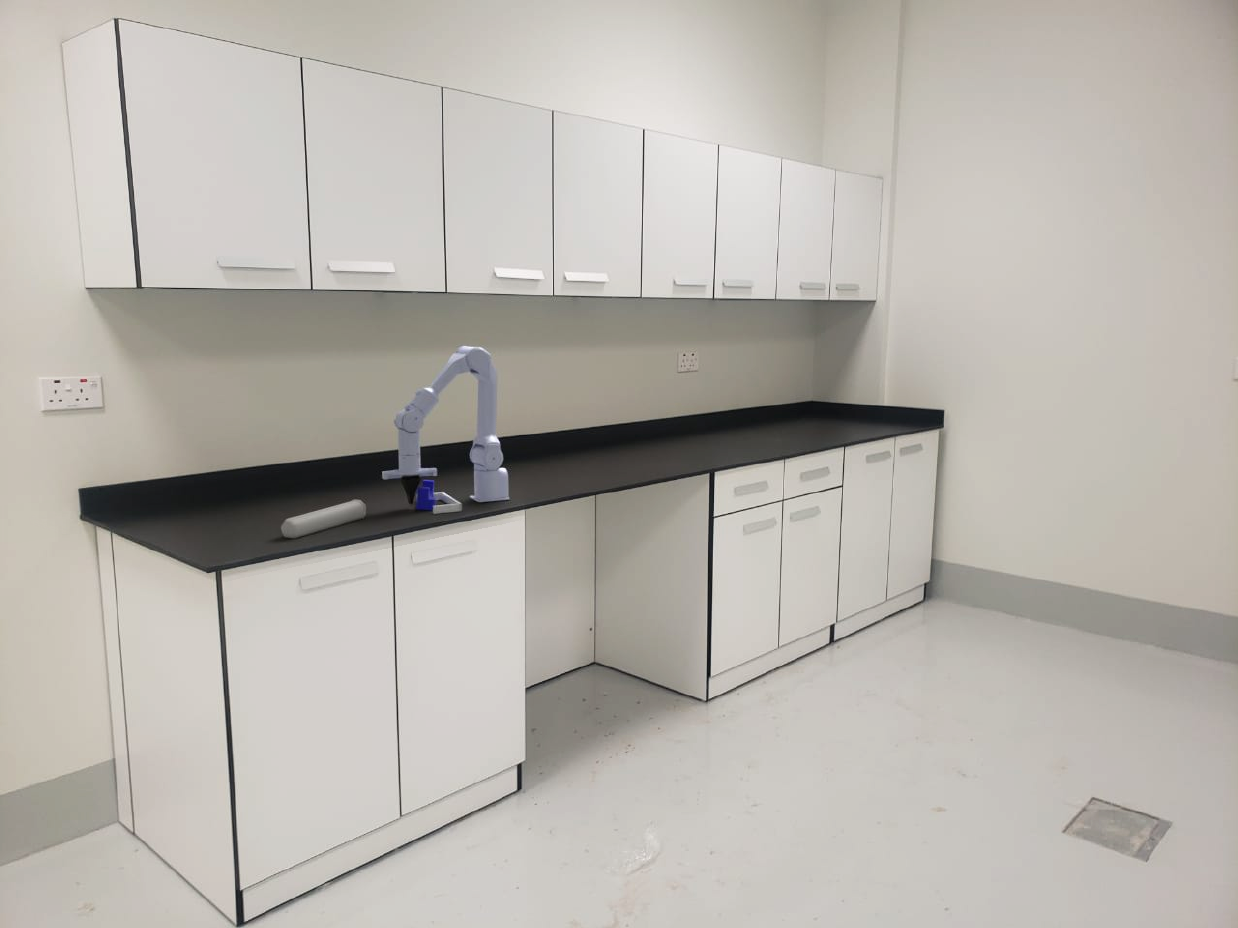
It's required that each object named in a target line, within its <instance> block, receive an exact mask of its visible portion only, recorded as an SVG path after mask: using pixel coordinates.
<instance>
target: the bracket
mask: <svg viewBox="0 0 1238 928" xmlns="http://www.w3.org/2000/svg"><path fill="white" fill-rule="evenodd" d="M433 498H435V501H443V502H444V503H446V504H440V505H437V504H436V506H433V510H432V514H434V515H435V514H446V513H456V512H462V511H463V503H461V502H460V501H459V500H456V499H455V498H454V497H452V496H451V495H448V494H447V493H445V492H444V491H442V492H441V491H440V492H434V496H433Z"/></svg>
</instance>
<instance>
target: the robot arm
mask: <svg viewBox="0 0 1238 928" xmlns="http://www.w3.org/2000/svg"><path fill="white" fill-rule="evenodd" d="M469 372H470V374H471V375H472V376H473V377H475V379H477V382H478V383H477V412H476V413H477V416H476V418H477V420H476V426H477V427H476V436H475V437H474V438H473V440H472V446H471V449H470V452H469V459H470V462H472V464H473V479H474V480H473V483H474V487H473V489H474V490H473V491H474V495H470V496H469V498H470V499H472V500H473V501H475V502H478V503H483V502H484V503H485V502H495V501H497V502H498V501H506V500H510V497H509V474H508V471H507V468H505V467H501V465H502V464H503V461H504V454H503V452H502V448H501V442H500V440H499V438H498V437H497V412H498V411H497V407H498V403H497V402H498V401H497V400H498V371H497V369H496V367H495V365H494V363H493V361H492V354H490V353H489V352H488V351H487V350H486V349H485V348H483V347H480V346H468V345H463V346H460V347H458V348H457V349H456V351H455V352H454V353H452V355H450V357H449V359H448V361H447V363H446V364H445V365H444V367H442V369H441V370H440V371H439V373H438V375H437V376H436V377H435V379H434V380H433V381H432V382H431V383H430V385H429V386H428V387H422V388H421V389H417V390H416V391H415V396H414V397H413V398H412V399H411V400H410V402H409V403H407V404H405V405H404V409H403V410H400V411H399V412H397V414H396V416H395V419H394V420H393V423H394V425H395V428H397V442H398V447H397V448H398V449H397V450H398V469H393V470H385V471H382V472H381V473H382V475H381V478H382V479H383V480H385V481H386V480H390V479H399V480H400V482H401V484H402V487H403V489H404V492H405V494H406V497H407V502H408V504H409V505H413V504H414V500H415V495H416V492H417V489H418V487H419V485H420V483H421V477H431V476H433V477H437V476H438V468H436V467H430V468H429V467H428V468H427V467H425V468H424V467H421V437H420V431H421V430H420V429H422V428H423V425H424V421H425V418H427V416H428V415H429V414H430V413H431V411H432V410H433V409H434V408H435V407H436V406H437V404H438V403H439V401H440V399H439V398H440V397H439V396H440V395H441V393H442V392H443V391H445V389H446V388H447V387H448V385H450V383H452V381H453V380H454V379H455V378H456V377H457V376H458V375H460V374H466V373H469Z"/></svg>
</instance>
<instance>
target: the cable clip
mask: <svg viewBox="0 0 1238 928" xmlns="http://www.w3.org/2000/svg"><path fill="white" fill-rule="evenodd" d="M416 492H417V493H416V507H415V509H416V510H420V511H421V510H423V511H433V506H437V500H435V498H433V496H434V493H435V480H431V479H423V480H422V486H418V487H417V489H416Z"/></svg>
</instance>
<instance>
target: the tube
mask: <svg viewBox="0 0 1238 928" xmlns="http://www.w3.org/2000/svg"><path fill="white" fill-rule="evenodd" d="M366 508H367V506H366V504H365V503H364V502H363V501H362V500H361V499H356V498H355V499H352V500H351V501H347V502H343V503H339V504H336V505H333V506H329V507H325V508H322V509H318V510H315V511H310V512H307V513H304V514H300V515H297V516H293V517H289V518H286V519H285V520H284V522H283V523H282V524H281V526H280V529H281V533H282V534H283V536H284V538H287V539H288V538H289V539H297V538H301V537H303V536H307V535H310V534H313V533H317V532H321V531H325V530H327V529H328V530H329V529H331V528H335V527H338V526H341V525H344V524H348V523H351V522H355V521H359V520H362V519H364V518H365V516H366V515H367V509H366Z"/></svg>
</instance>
